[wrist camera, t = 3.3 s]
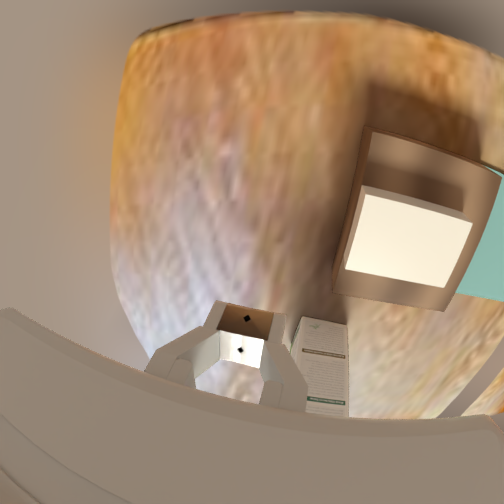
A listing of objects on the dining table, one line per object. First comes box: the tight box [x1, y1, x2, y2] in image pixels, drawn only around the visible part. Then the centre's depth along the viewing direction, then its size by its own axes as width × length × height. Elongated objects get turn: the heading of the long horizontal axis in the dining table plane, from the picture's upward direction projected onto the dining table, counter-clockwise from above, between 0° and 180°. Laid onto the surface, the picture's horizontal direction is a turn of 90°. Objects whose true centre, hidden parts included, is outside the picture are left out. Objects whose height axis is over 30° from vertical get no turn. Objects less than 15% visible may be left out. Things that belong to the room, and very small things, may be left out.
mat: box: [455, 165, 504, 302], centre depth 21 cm, size 12×14×1 cm
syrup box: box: [290, 316, 349, 417], centre depth 27 cm, size 6×6×14 cm
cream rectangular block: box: [344, 185, 473, 288], centre depth 19 cm, size 9×6×2 cm, turn 86°
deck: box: [332, 126, 502, 312], centre depth 21 cm, size 12×14×4 cm
